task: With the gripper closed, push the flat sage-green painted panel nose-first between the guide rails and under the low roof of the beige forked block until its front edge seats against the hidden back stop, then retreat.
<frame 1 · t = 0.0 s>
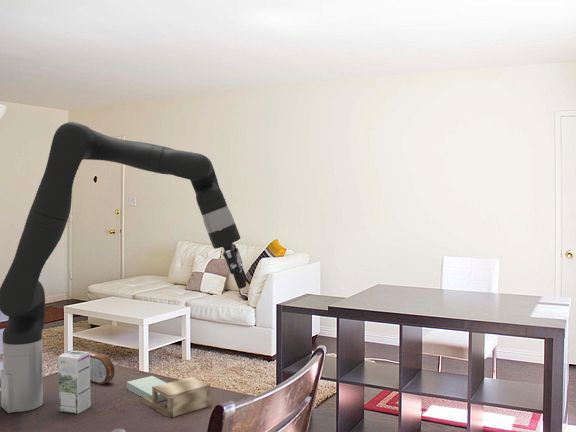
hand: (243, 284, 151), 31 cm above the table, tool tilted 20°, fingers open, 8 cm apart
syrup box: (74, 410, 148), on the table
beige forked block: (179, 406, 150), on the table
tin: (93, 381, 170), on the table
panel: (152, 394, 160), on the table
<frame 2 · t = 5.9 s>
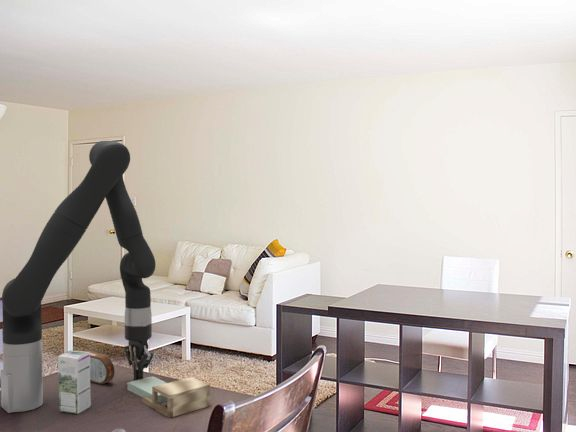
hand: (138, 381, 167), 1 cm above the table, tool pointing down, fingers closed
panel: (153, 394, 160), on the table, touching gripper
everything else where it was.
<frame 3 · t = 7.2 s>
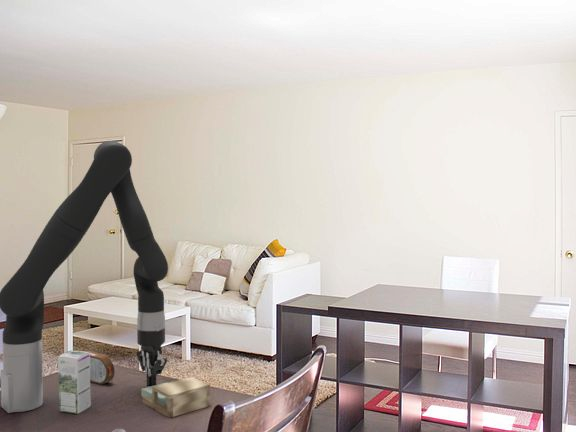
hand: (151, 388, 161), 1 cm above the table, tool pointing down, fingers closed
panel: (169, 401, 155), on the table
everything else where it was.
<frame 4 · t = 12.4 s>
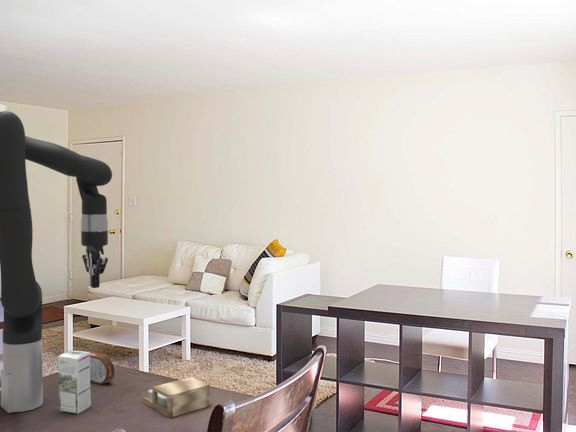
hand: (95, 287, 172), 27 cm above the table, tool pointing down, fingers closed
panel: (175, 403, 153), on the table
everything else where it was.
at the end: panel 0.9 cm from the target spot, on the table; the gripper is holding nothing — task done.
